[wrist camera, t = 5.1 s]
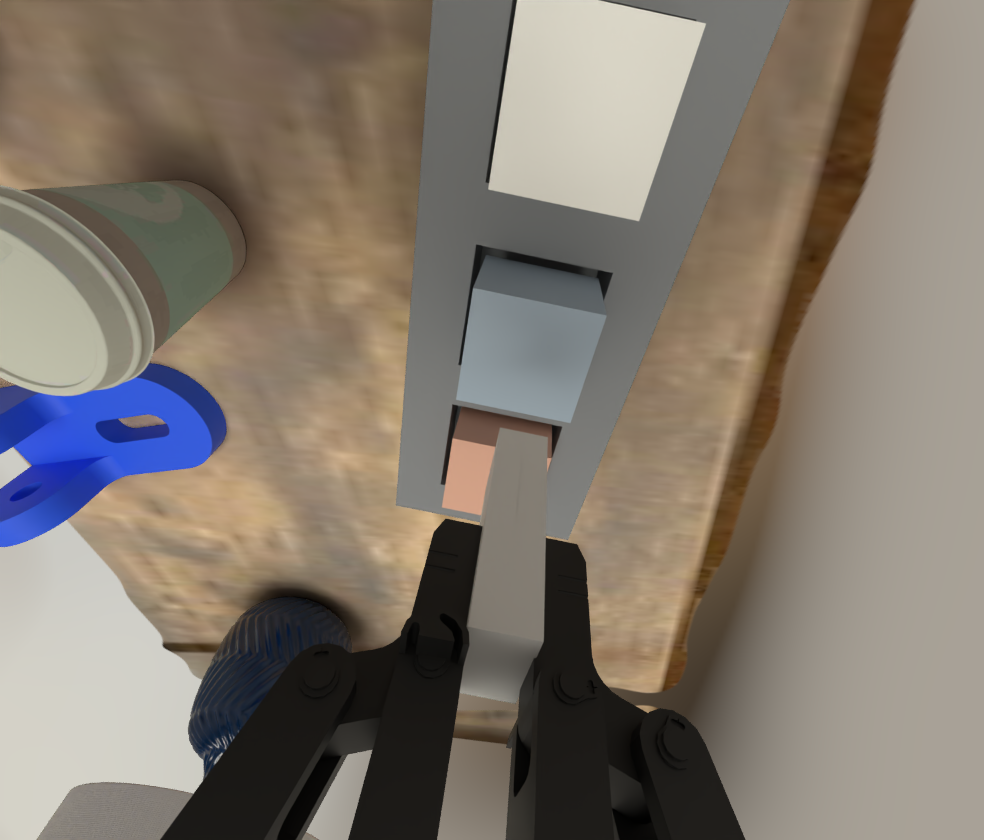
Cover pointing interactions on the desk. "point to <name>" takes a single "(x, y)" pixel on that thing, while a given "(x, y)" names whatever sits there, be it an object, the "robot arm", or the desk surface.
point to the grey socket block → (554, 233)
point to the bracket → (98, 443)
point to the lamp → (205, 720)
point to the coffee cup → (105, 277)
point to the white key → (589, 102)
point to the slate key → (530, 338)
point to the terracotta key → (480, 455)
